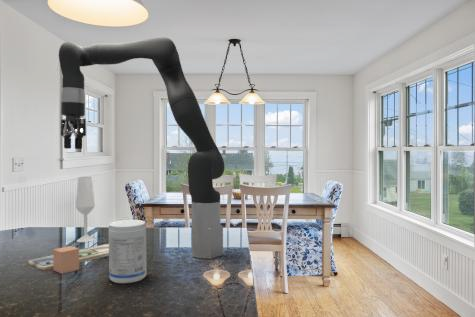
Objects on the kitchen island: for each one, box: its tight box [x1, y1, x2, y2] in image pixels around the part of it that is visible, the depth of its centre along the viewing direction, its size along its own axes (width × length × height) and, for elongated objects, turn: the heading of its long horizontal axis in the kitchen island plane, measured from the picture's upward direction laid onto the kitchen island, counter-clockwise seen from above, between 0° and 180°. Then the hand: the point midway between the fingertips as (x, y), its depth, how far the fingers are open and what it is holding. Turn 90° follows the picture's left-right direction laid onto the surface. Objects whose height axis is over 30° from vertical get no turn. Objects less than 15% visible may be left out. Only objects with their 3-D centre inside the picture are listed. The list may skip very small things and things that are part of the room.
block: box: [52, 245, 80, 275], centre depth 108 cm, size 5×5×6 cm
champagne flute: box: [75, 176, 96, 243], centre depth 144 cm, size 7×7×24 cm
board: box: [26, 243, 109, 272], centre depth 121 cm, size 12×27×1 cm, turn 139°
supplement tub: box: [108, 219, 147, 284], centre depth 100 cm, size 10×10×15 cm
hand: (72, 148), depth 132 cm, fingers open, 8 cm apart
